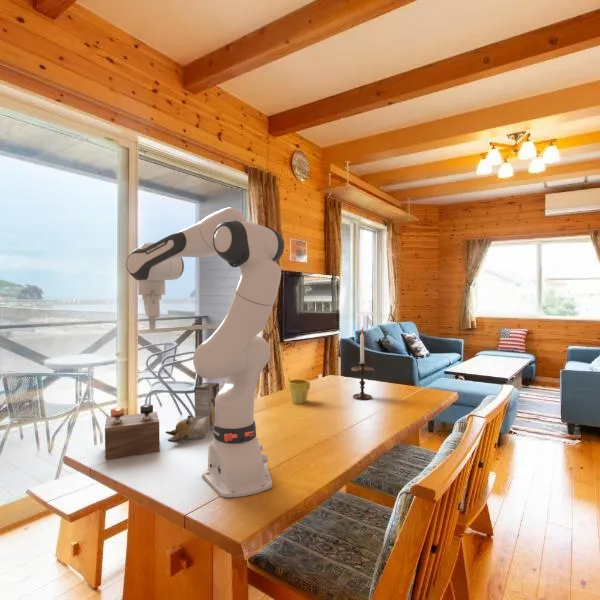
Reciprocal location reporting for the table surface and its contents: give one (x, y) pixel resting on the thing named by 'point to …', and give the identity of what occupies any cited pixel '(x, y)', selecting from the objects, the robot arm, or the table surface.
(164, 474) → the table surface
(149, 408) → the black knob plunger
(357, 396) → the candlestick
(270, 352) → the robot arm
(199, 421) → the ceramic sculpture
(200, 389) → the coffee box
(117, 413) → the terracotta knob plunger
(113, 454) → the block
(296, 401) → the plant pot
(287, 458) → the table surface
